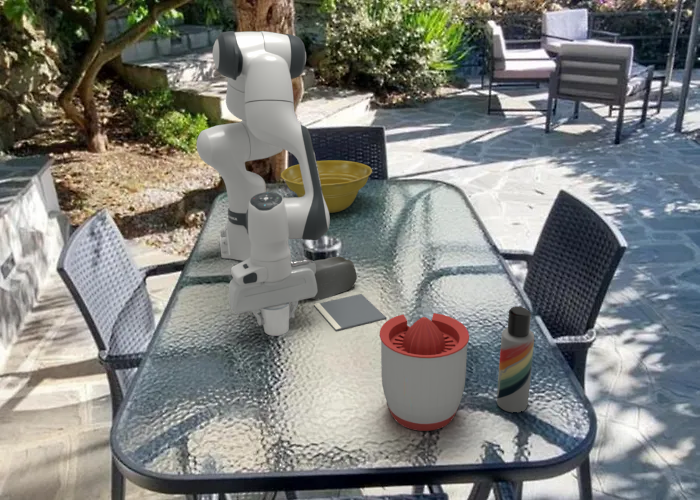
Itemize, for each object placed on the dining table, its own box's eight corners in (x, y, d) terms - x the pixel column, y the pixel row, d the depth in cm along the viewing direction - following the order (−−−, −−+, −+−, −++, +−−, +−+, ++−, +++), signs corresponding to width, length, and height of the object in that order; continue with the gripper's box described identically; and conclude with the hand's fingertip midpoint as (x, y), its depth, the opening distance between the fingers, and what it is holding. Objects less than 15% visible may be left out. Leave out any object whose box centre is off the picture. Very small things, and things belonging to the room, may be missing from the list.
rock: (342, 272, 177) (341, 246, 173) (364, 286, 168) (363, 259, 165) (282, 289, 168) (280, 262, 165) (302, 305, 159) (300, 277, 156)
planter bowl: (270, 201, 236) (268, 166, 231) (349, 189, 248) (348, 155, 243) (302, 229, 209) (299, 189, 204) (388, 213, 221) (388, 175, 216)
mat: (314, 305, 158) (313, 304, 158) (361, 295, 163) (361, 293, 163) (335, 331, 146) (335, 329, 146) (386, 318, 151) (386, 317, 151)
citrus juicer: (454, 381, 127) (458, 291, 119) (473, 438, 111) (479, 338, 103) (376, 384, 127) (375, 294, 119) (383, 442, 110) (383, 342, 103)
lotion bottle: (492, 396, 122) (499, 303, 114) (521, 393, 122) (530, 301, 115) (501, 414, 117) (509, 318, 109) (532, 412, 117) (541, 316, 109)
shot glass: (286, 338, 144) (284, 310, 141) (257, 335, 145) (255, 308, 143) (295, 323, 150) (293, 297, 148) (267, 321, 152) (265, 295, 149)
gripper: (310, 252, 148) (313, 305, 153) (223, 269, 141) (229, 324, 146) (320, 262, 143) (322, 316, 148) (230, 280, 135) (236, 336, 141)
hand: (276, 320), depth 147 cm, fingers open, 5 cm apart
